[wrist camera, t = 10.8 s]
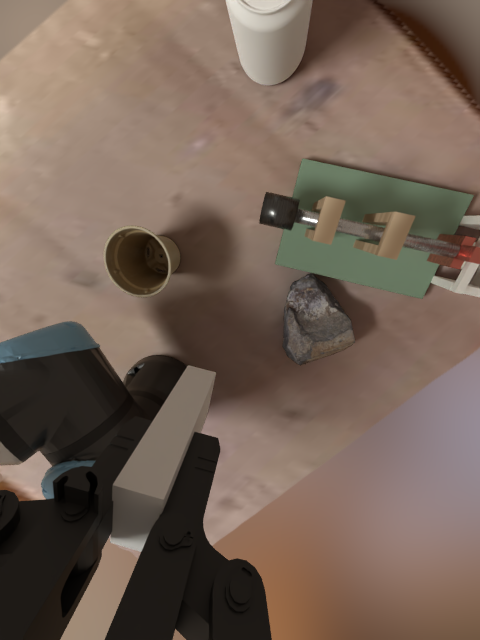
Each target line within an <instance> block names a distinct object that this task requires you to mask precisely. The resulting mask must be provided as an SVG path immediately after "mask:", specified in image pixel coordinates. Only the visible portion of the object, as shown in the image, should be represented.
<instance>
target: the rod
mask: <svg viewBox="0 0 480 640" xmlns="http://www.w3.org/2000/svg"><path fill="white" fill-rule="evenodd" d="M299 202H300V199H296V198H292V197H287V196H283V195H278V194H274V193H269V192H266V194H265V198H264V202H263V206H262V210H261V215H260V222H259V223H260V224H264V225H268V226H273V227H277V228H281V229H286V230H290V231H291V230H292V228H293V225H294V223H299V224H303V225H308V226H312V227H316V224H317V221H318V218H319V214H320V213H316V212H311V211H307V210H303V209H298V206H299ZM384 230H385V228H383V227H378V226H374V225H370V224H365V223H361V222H356V221H352V220H347V219H343V218H340V220H339V223H338V226H337V229H336V232H338V233H343V234H347V235H352V236H356V237H360V238H365V239H369V240H374V241H378V242H380V240H381V237H382V235H383V232H384ZM475 240H476V238H473V237H468V236H459V235H446V234H439V236H438V238H437V239H432V238H428V237H423V236H419V235H414V234H410V233H408V235H407V237H406V240H405V242H404V244H403V247H405V248H409V249H413V250H418V251H422V252H427V253H430V255H429V257H428V259H427V261H429V262H432V263H436V264H440V265H444V266H448V267H452V268H456V269H460V268H461V266H462V264H463V263H464V261H467V262H471V263H476V264H480V247H475V246H473V244H474V242H475Z"/></svg>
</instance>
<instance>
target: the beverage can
mask: <svg viewBox="0 0 480 640" xmlns="http://www.w3.org/2000/svg"><path fill="white" fill-rule="evenodd" d="M312 2H313V0H226V4H227V8H228V12H229V16H230V21H231V25H232V29H233V33H234V38H235V42H236V46H237V50H238V54H239V58H240V62H241V65H242V67H243V69H244V71H245V72H246V74H247V75H248V76H249V77H250V78H251V79H252V80H253V81H255V82H257V83H259V84H262V85H275V84H278V83H281V82H283V81H284V80H286V79H287V78H288V77H290V76H291V75H292V74H293V73H294V71H295V70H296V69H297V67H298V65H299V64H300V62H301V60H302V57H303V54H304V51H305V47H306V41H307V34H308V28H309V21H310V15H311V9H312Z"/></svg>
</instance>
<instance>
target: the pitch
mask: <svg viewBox="0 0 480 640" xmlns="http://www.w3.org/2000/svg"><path fill="white" fill-rule="evenodd" d="M326 196H327V197H331V198H336V199H341V200H345V201H346V202H345V205H344V208H343V211H342V214H341V217H340V218H343V219H347V220H352V221H356V222H361V223H364V222H362V221H363V218H364V215H365V214H374V213H385V212H400V213H404V214H409V215H413V216H415V219H414V221H413V223H412V226H411V228H410V230H409V233H410V234H414V235H419V236H423V237H428V238H432V239H437V238H438V236H439V234H446V235H454V234H455V232H456V230H457V228H458V226H459V224H460V222H461V220H462V218H463V216H464V214H465V212H466V210H467V208H468V206H469V204H470V202H471V200H472V198H473V196H474V195H471V194H466V193H462V192H457V191H452V190H448V189H443V188H438V187H434V186H429V185H424V184H420V183H415V182H410V181H406V180H401V179H396V178H392V177H387V176H382V175H378V174H373V173H368V172H363V171H359V170H354V169H349V168H345V167H340V166H335V165H331V164H326V163H321V162H317V161H312V160H307V159H302V162H301V166H300V169H299V173H298V177H297V181H296V185H295V189H294V193H293V196H292V198H296V199H300V202H299V206H298V209H303V210H307V211H311V212H315V211H312V208H313V204H314V203H315V202H317V201H319V200H320V199H322V198H324V197H326ZM316 213H319V212H316ZM365 224H368V223H365ZM370 225H373V224H370ZM374 226H378V227H383V228H385V227H386V226H382V225H374ZM315 228H316V227H312V226H308V225H303V224H299V223H294V225H293V228H292V230H291V231H290V230H286V229H284V231H283V235H282V239H281V243H280V247H279V250H278V254H277V258H276V262H275V264H276V265H280V266H285V267H289V268H293V269H297V270H302V271H306V272H310V273H314V274H319V275H323V276H327V277H331V278H335V279H340V280H344V281H348V282H352V283H357V284H361V285H365V286H369V287H374V288H378V289H382V290H386V291H390V292H395V293H399V294H403V295H407V296H412V297H416V298H420V299H423V297H424V295H425V293H426V291H427V289H428V287H429V285H430V283H431V281H432V279H433V277H434V275H435V272H436V270H437V268H438V266H439V264H436V263H432V262H429V261H427V259H428V257H429V255H430V253H427V252H422V251H418V250H413V249H409V248H405V247H402V249H401V251H400V253H399V256H398V258H397V260H395V259H390V258H386V257H382V256H377V255H374V254H372V253H369V252H366V251H363V250H360V249H357V248H354V247H353V245H354V243H355V240H358V241H362V242H367V243H371V244H375V245H379V242H378V241H374V240H369V239H365V238H360V237H356V236H352V235H347V234H343V233H338V232H335V235H334V238H333V241H332V244H331V245H329V244H325V243H321V242H316V241H312V240H311V239H309V238H307V237H305V236H304V235H305V232H306V229H310V230H314V231H315Z"/></svg>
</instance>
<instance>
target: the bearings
mask: <svg viewBox="0 0 480 640" xmlns="http://www.w3.org/2000/svg"><path fill="white" fill-rule="evenodd" d="M345 202H346V201H345V200H341V199H336V198H331V197H327V196H326V197H324V198H322V199H320V200H319V201H317V202H315V203H314V204H313V208H312V211H315V212H319V213H320V214H319V218H318V221H317V224H316V228H315V231H314V230H310V229H306V232H305V235H304V236H305V237H307V238H309V239H311V240H312V241H316V242H321V243H325V244H329V245H331V244H332V241H333V238H334V235H335V232H336V229H337V226H338V223H339V220H340V217H341V214H342V211H343V208H344V205H345ZM414 219H415V216H413V215H409V214H404V213H400V212H385V213H374V214H365V215H364V218H363V221H362V222H364V223H368V224H373V225H382V226H386V227H385V230H384V232H383V235H382V237H381V240H380V242H379V245H375V244H371V243H367V242H362V241H358V240H355V243H354V245H353V247H354V248H357V249H360V250H363V251H366V252H369V253H372V254H374V255H377V256H382V257H386V258H390V259H395V260H397V258H398V256H399V253H400V251H401V249H402V247H403V244H404V242H405V240H406V237H407V235H408V233H409V230H410V228H411V226H412V223H413V221H414Z"/></svg>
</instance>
